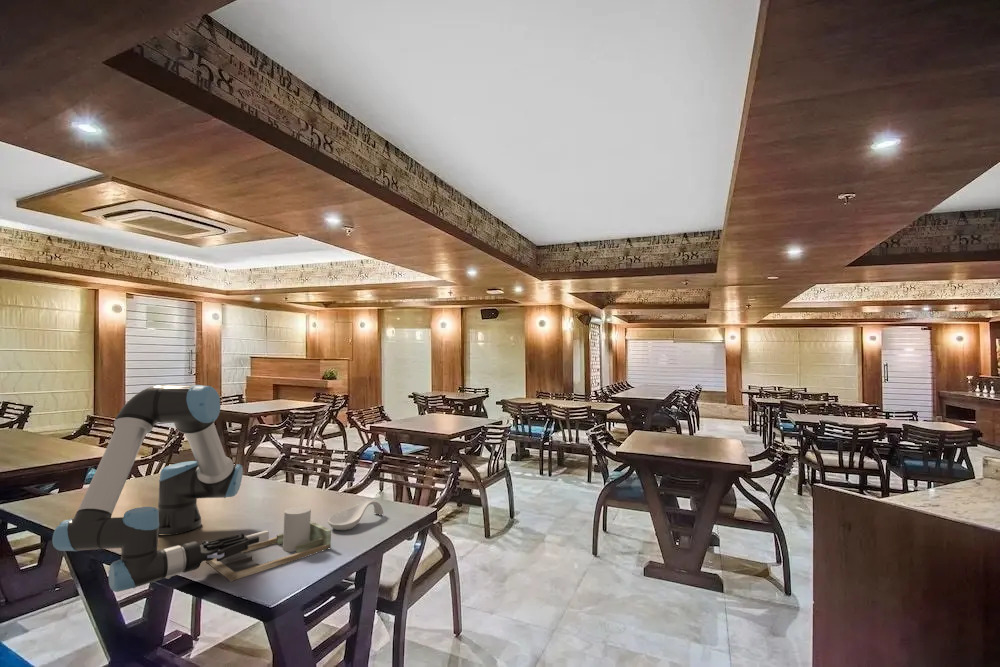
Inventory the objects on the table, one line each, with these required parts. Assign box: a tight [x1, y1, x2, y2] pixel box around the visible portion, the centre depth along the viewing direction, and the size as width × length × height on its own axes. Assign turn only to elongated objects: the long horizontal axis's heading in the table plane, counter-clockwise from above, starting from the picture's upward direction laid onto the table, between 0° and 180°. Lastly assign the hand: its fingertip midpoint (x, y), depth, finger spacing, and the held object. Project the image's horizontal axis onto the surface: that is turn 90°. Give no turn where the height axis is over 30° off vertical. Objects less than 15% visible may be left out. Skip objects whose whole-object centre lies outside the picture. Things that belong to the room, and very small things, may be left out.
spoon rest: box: [327, 499, 384, 531], centre depth 180 cm, size 24×12×7 cm, turn 150°
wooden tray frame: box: [205, 520, 332, 582], centre depth 150 cm, size 19×30×6 cm, turn 140°
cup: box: [282, 505, 312, 553], centre depth 157 cm, size 8×8×12 cm
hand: (267, 535), depth 149 cm, fingers closed
